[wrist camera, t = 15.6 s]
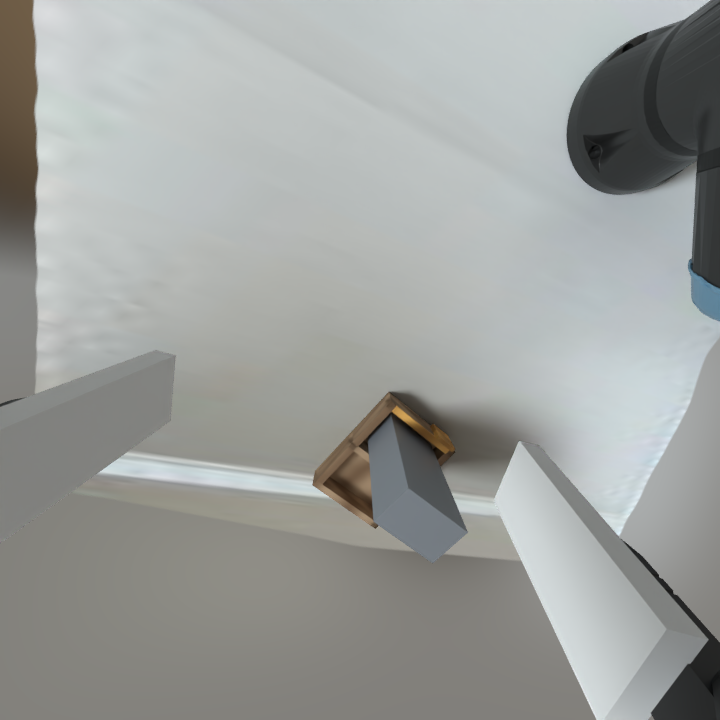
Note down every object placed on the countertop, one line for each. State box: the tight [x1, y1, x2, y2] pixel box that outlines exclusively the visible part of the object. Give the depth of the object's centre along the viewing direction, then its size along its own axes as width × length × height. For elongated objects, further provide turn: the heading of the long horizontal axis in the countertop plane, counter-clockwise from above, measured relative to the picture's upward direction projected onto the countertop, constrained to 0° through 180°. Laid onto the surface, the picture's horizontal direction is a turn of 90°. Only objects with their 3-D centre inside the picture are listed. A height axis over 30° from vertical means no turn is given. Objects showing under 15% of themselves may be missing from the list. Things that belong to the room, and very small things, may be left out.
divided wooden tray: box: [313, 392, 455, 529], centre depth 48 cm, size 12×18×4 cm
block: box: [368, 412, 468, 563], centre depth 41 cm, size 8×5×17 cm, turn 50°
